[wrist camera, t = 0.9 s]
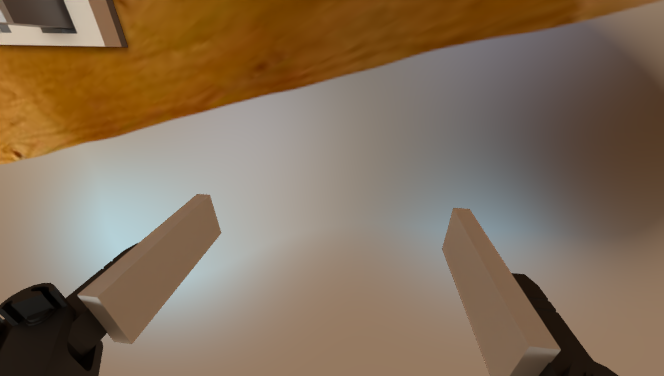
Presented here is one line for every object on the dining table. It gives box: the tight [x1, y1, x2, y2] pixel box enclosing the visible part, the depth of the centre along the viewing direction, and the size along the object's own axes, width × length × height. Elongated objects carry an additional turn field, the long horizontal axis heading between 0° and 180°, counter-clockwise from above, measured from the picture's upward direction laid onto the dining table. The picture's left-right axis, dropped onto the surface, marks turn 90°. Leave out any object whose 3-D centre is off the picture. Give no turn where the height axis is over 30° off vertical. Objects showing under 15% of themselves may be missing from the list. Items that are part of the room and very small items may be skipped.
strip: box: [0, 0, 128, 47], centre depth 33 cm, size 8×22×4 cm, turn 89°
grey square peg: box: [0, 0, 76, 30], centre depth 29 cm, size 4×4×9 cm
